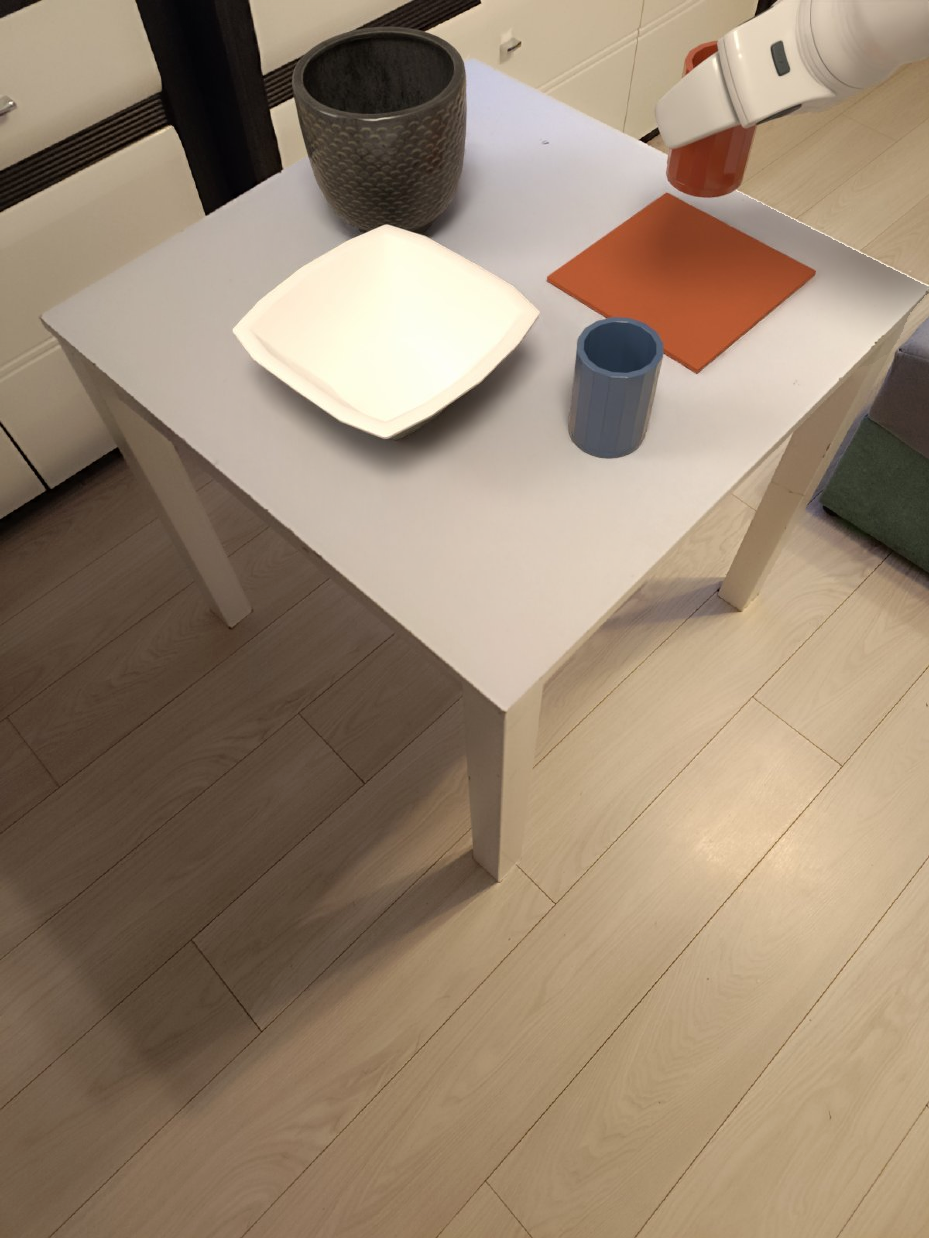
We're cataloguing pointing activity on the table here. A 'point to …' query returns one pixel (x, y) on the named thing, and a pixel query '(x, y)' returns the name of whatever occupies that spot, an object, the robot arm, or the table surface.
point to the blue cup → (614, 386)
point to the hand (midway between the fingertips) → (711, 113)
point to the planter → (384, 124)
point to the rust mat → (682, 278)
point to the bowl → (386, 330)
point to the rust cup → (710, 151)
